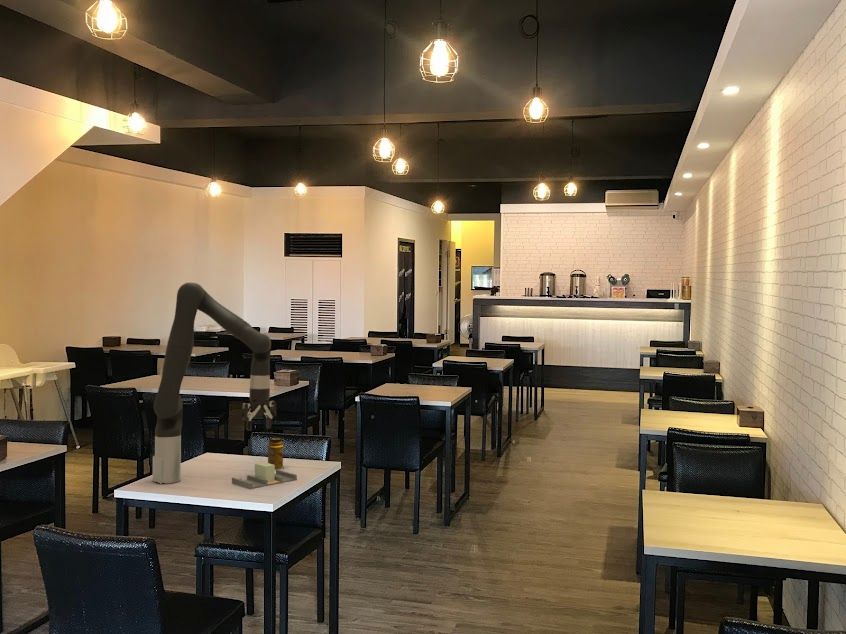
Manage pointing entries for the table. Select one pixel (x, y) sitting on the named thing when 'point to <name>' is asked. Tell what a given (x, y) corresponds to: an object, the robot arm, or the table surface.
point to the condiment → (275, 452)
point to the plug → (265, 471)
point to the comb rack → (259, 482)
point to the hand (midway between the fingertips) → (258, 429)
